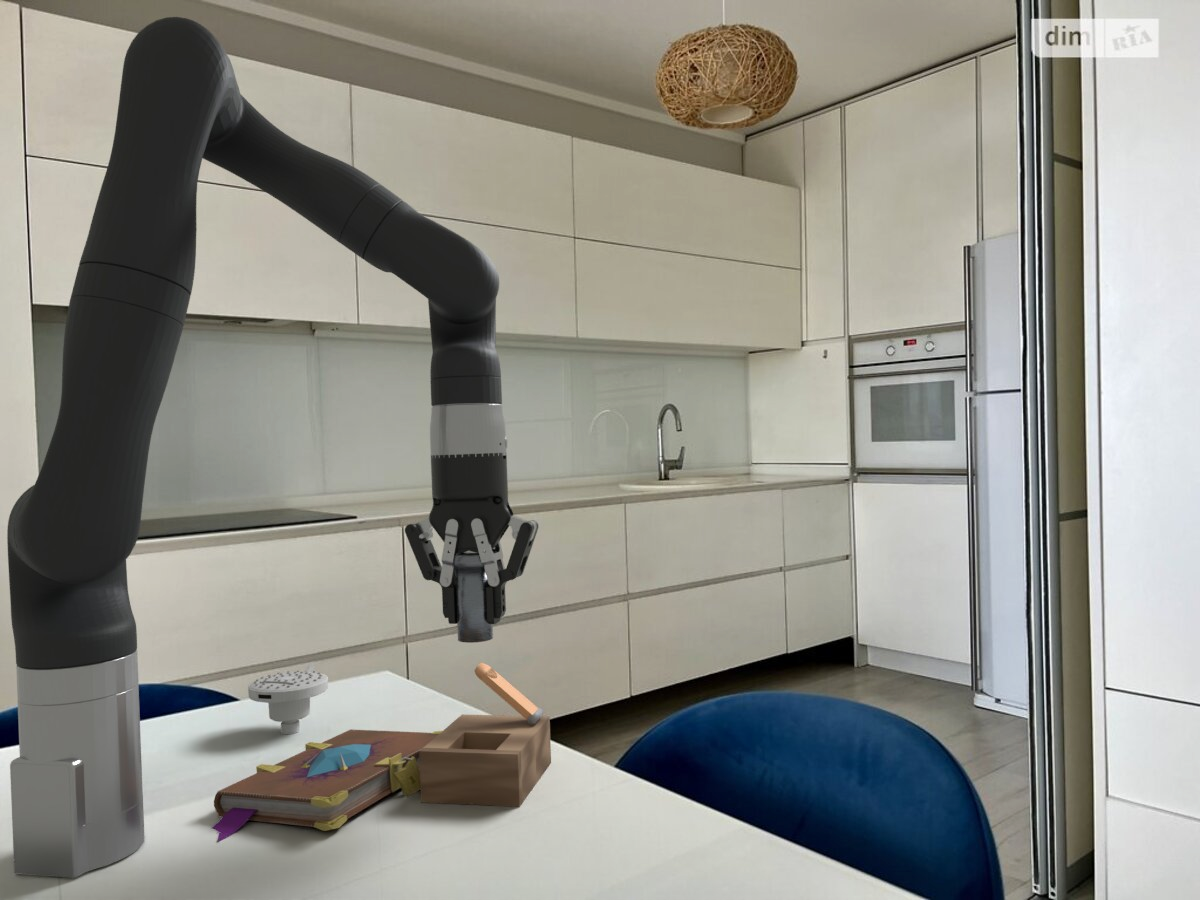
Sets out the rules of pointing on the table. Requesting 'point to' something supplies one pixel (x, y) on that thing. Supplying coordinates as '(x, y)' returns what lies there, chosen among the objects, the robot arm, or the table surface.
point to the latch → (508, 693)
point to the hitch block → (485, 760)
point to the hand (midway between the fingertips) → (475, 621)
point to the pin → (471, 598)
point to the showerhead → (288, 695)
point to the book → (325, 781)
